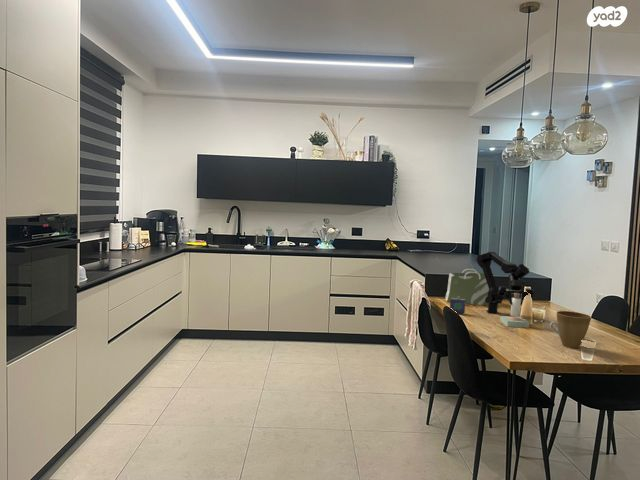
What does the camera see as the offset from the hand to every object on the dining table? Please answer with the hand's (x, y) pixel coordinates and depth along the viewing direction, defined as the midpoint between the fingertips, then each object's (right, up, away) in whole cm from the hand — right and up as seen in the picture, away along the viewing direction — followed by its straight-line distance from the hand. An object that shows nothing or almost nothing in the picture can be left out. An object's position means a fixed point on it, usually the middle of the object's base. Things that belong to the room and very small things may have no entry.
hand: (516, 304), depth 261 cm
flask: (-27, -9, +23) cm, 36 cm away
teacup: (+16, -14, -20) cm, 29 cm away
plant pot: (+11, -16, -35) cm, 40 cm away
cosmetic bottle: (0, -6, +2) cm, 7 cm away
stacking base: (0, -12, +2) cm, 12 cm away
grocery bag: (-8, -7, +58) cm, 59 cm away
